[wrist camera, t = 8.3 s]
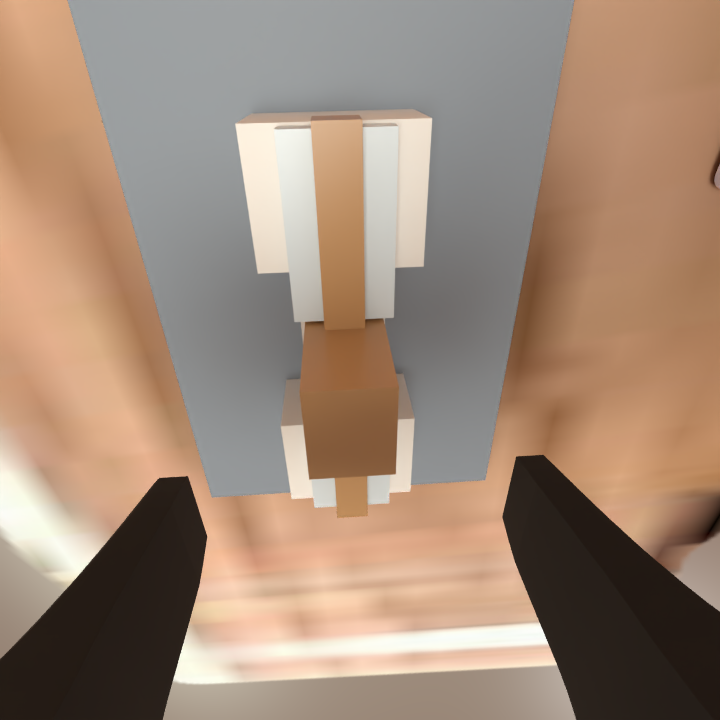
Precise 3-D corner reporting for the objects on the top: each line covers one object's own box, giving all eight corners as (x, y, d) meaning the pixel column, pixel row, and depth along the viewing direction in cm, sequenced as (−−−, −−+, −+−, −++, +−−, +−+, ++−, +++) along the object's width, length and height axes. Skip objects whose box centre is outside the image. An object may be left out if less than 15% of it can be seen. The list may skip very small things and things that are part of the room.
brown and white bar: (395, 113, 12) (424, 134, 8) (386, 491, 19) (400, 586, 16) (275, 116, 11) (254, 139, 8) (315, 495, 19) (312, 592, 16)
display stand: (559, -12, 14) (639, -39, 10) (478, 463, 25) (504, 529, 21) (84, -4, 13) (-4, -29, 10) (216, 479, 24) (197, 550, 20)
